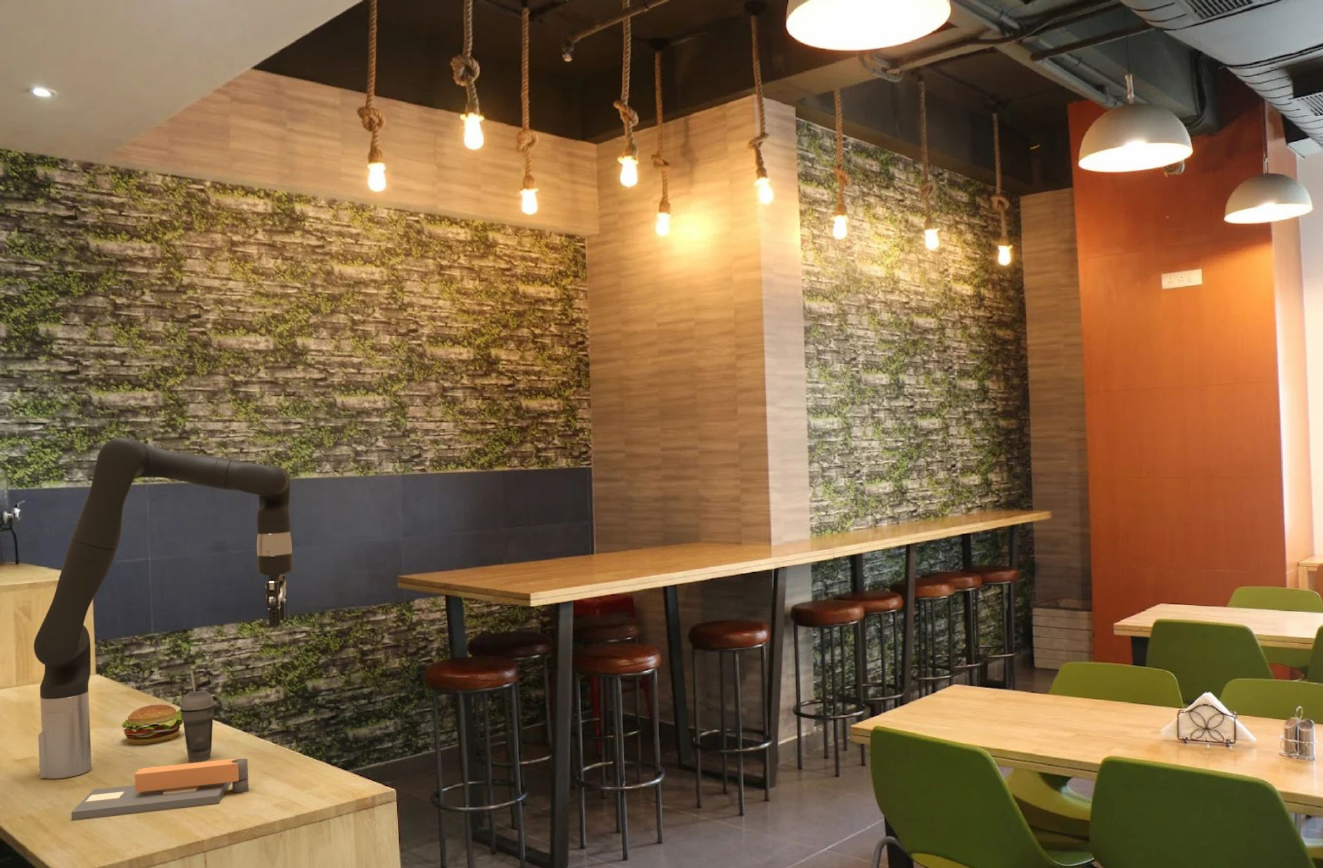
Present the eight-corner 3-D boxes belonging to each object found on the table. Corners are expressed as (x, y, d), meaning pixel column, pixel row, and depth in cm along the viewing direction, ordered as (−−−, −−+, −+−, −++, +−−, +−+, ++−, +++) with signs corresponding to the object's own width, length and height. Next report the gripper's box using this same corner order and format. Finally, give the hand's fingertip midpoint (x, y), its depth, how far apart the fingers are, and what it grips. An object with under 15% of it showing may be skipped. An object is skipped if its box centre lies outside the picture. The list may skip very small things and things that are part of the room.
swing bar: (249, 774, 215) (248, 757, 215) (246, 780, 211) (245, 762, 211) (140, 786, 210) (139, 768, 210) (135, 792, 206) (134, 774, 206)
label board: (71, 820, 199) (71, 808, 199) (93, 796, 213) (93, 785, 213) (242, 800, 206) (242, 789, 206) (253, 779, 219) (253, 768, 219)
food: (120, 750, 247) (118, 716, 247) (124, 736, 260) (122, 704, 260) (184, 741, 253) (182, 708, 253) (185, 728, 266) (183, 696, 266)
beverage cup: (204, 764, 232) (200, 673, 233) (174, 763, 234) (171, 673, 234) (224, 754, 239) (220, 666, 240) (195, 753, 241) (192, 666, 241)
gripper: (261, 550, 247) (264, 619, 247) (252, 556, 233) (255, 629, 233) (295, 548, 249) (297, 617, 249) (288, 554, 235) (291, 626, 235)
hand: (277, 623), depth 241 cm, fingers open, 8 cm apart
